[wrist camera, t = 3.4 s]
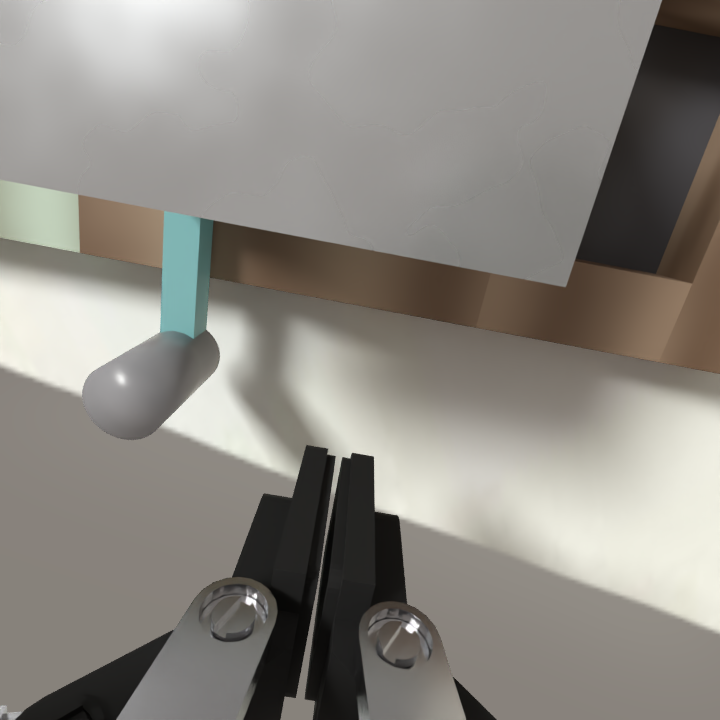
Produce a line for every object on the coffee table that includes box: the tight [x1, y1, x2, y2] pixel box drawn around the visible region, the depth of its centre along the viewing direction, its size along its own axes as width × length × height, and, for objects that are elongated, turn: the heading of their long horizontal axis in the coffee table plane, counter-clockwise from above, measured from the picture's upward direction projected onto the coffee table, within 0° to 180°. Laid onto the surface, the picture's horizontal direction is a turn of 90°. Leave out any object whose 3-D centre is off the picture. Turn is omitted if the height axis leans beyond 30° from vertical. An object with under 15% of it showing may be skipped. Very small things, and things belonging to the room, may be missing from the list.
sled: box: [82, 211, 220, 440], centre depth 13 cm, size 9×15×5 cm, turn 170°
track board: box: [0, 0, 720, 374], centre depth 16 cm, size 34×14×2 cm, turn 80°
